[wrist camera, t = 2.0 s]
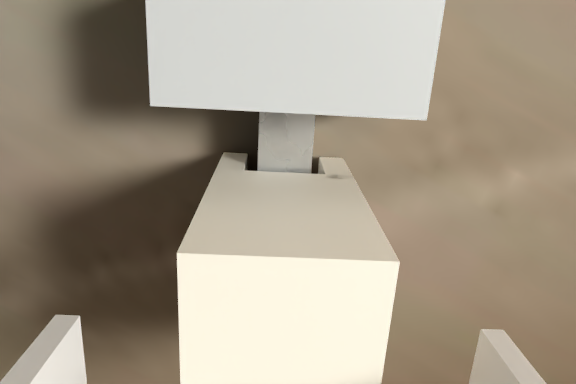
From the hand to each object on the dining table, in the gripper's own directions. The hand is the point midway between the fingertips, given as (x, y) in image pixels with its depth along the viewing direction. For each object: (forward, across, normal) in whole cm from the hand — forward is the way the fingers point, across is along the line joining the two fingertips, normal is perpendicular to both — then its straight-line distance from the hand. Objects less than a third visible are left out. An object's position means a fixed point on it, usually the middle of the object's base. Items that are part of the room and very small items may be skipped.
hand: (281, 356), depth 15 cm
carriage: (+10, 0, +1) cm, 10 cm away
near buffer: (+10, 0, +10) cm, 14 cm away
